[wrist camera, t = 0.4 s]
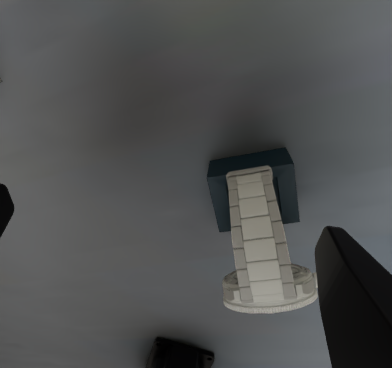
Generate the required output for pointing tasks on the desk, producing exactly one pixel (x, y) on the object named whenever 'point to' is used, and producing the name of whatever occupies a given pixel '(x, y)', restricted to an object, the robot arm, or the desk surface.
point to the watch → (260, 231)
